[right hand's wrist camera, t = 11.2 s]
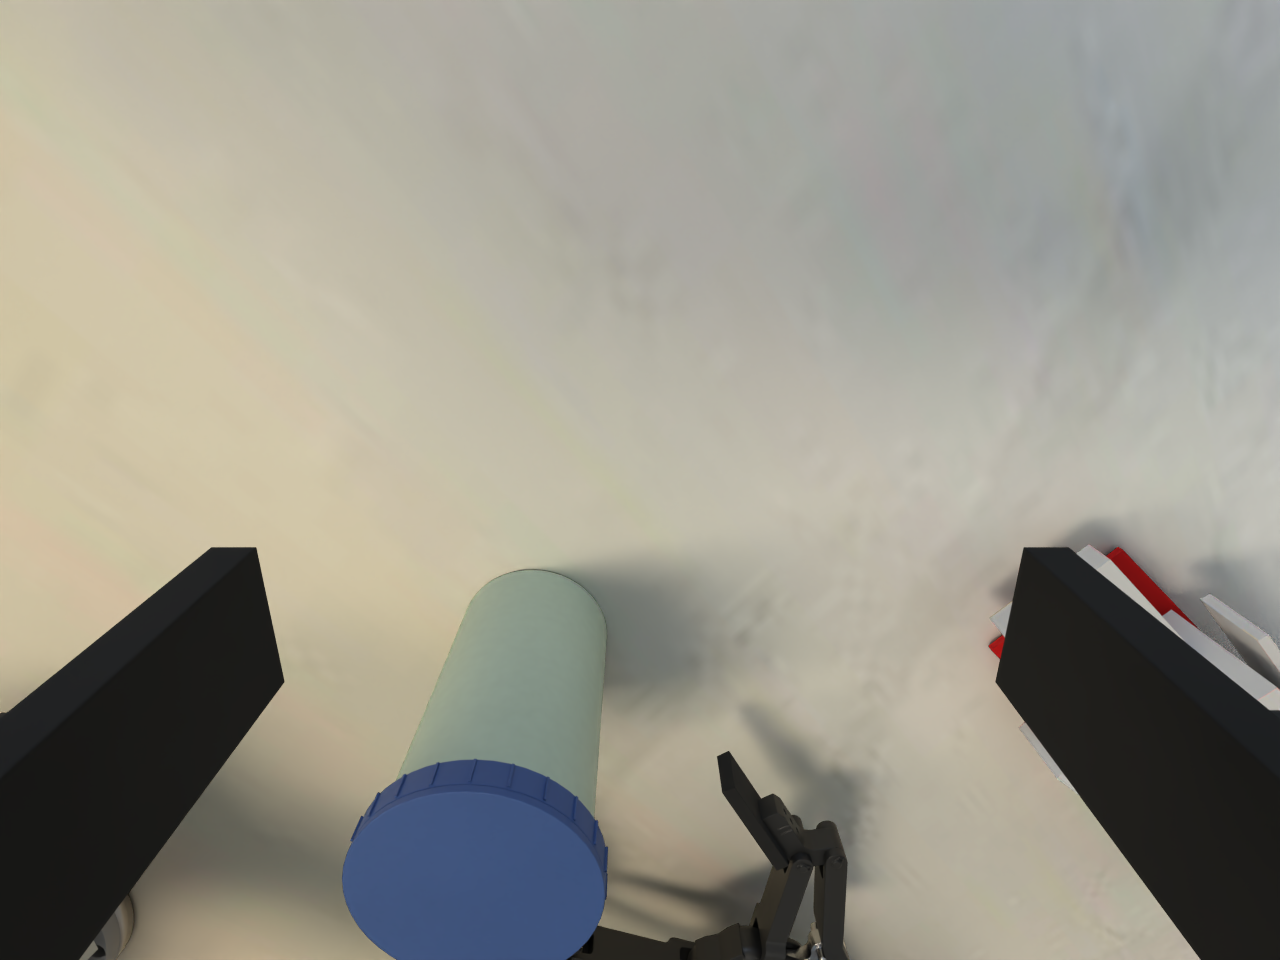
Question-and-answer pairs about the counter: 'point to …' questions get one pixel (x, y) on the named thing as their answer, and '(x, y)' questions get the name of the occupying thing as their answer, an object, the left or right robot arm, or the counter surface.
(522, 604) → the jar
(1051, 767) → the toy
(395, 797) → the lid
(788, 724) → the counter surface
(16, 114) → the counter surface
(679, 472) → the counter surface
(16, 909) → the right robot arm
